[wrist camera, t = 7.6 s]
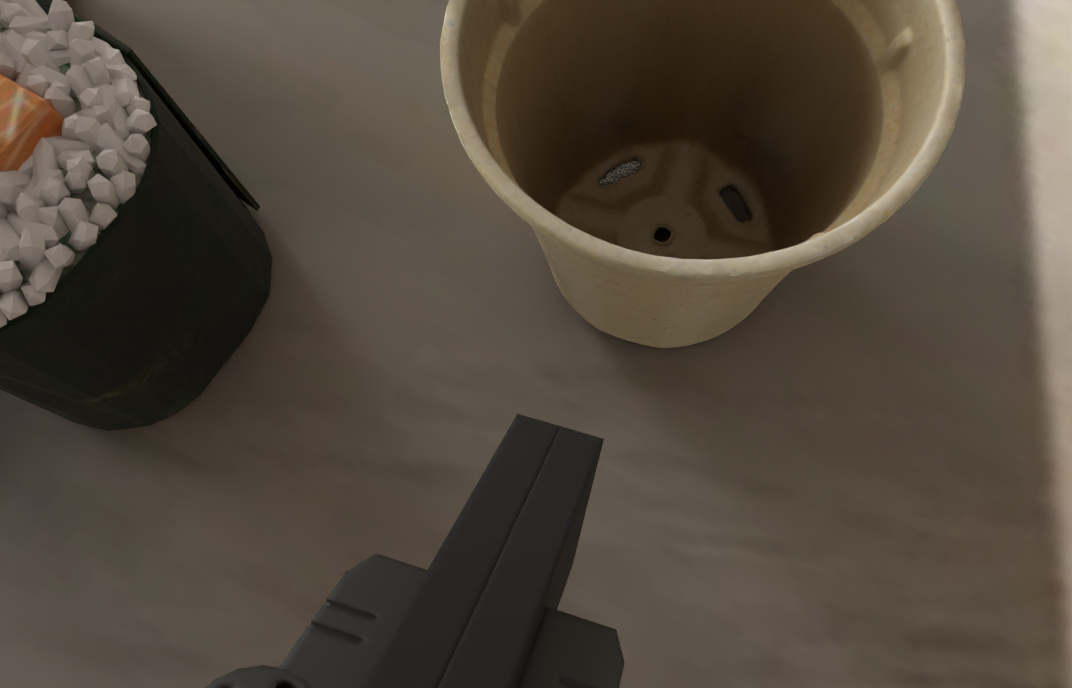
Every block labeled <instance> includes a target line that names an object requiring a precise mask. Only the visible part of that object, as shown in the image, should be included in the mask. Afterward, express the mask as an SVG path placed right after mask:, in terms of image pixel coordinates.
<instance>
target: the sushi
mask: <svg viewBox="0 0 1072 688" xmlns="http://www.w3.org/2000/svg"><path fill="white" fill-rule="evenodd" d="M240 199H241V200H242V201H244V202H245V203H247V204H248V205H250V206H251V207H253V208H254V209H256V210H257V211H258V209H259V207H260V206H259V205H258V203H257V202H256V201H255V200H254V199H253V197H252V196H251V195H250V194H249V192H248V191H247V190H246V189H245V188H244V186H243V185H242V184H241V183H240V181H239V180H238V179H237V178H236V177H235V175H234V174H233V173H232V172H231V170H230V169H229V168H228V167H227V166H226V164H225V163H224V162H223V161H222V159H221V158H220V157H219V156H218V155H217V153H216V152H215V151H214V150H213V148H212V147H211V146H210V145H209V144H208V142H207V141H206V140H205V139H204V137H203V136H202V135H201V134H200V133H199V131H198V130H197V129H196V128H195V126H194V125H193V124H192V123H191V122H190V120H189V119H188V118H187V117H186V115H185V114H184V113H183V112H182V111H181V109H180V108H179V107H178V106H177V104H176V103H175V102H174V101H173V99H172V98H171V97H170V96H169V95H168V93H167V92H166V91H165V90H164V88H163V87H162V86H161V85H160V84H159V82H158V81H157V80H156V79H155V77H154V76H153V75H152V74H151V73H150V71H149V70H148V69H147V68H146V66H145V65H144V64H143V63H142V62H141V60H140V59H139V58H138V57H137V55H136V54H135V53H134V52H133V51H132V49H131V48H129V47H128V46H127V45H125V44H124V43H122V42H121V41H119V40H118V39H117V38H115V37H114V36H112V35H111V34H109V33H108V32H106V31H105V30H104V29H102V28H101V27H99V26H97V25H95V24H93V21H88V20H86V19H84V18H82V17H80V16H78V15H77V14H75V13H73V11H72V9H71V7H70V6H69V5H68V3H67V2H66V1H63V0H53V1H50V0H0V389H1V390H3V391H6V392H8V393H10V394H12V395H15V396H17V397H19V398H21V399H24V400H26V401H28V402H30V403H33V404H35V405H37V406H39V407H41V408H44V409H46V410H48V411H50V412H53V413H55V414H57V415H59V416H62V417H64V418H66V419H68V420H70V421H73V422H76V423H80V424H84V425H88V426H92V427H95V428H99V429H103V430H107V431H111V430H118V429H126V428H133V427H140V426H148V425H151V424H153V423H155V422H157V421H159V420H162V419H164V418H166V417H168V416H170V415H172V414H174V413H176V412H178V411H179V410H181V409H182V408H183V407H184V406H186V405H187V404H188V403H189V402H191V401H192V400H193V399H194V398H196V397H197V396H198V395H199V394H200V393H201V392H202V391H203V389H204V388H205V387H206V386H207V384H208V383H209V382H210V381H211V379H212V378H213V377H214V376H215V374H216V373H217V372H218V370H219V369H220V368H221V367H222V365H223V364H224V363H225V362H226V360H227V359H228V358H229V357H230V355H231V354H232V353H233V352H234V350H235V349H236V348H237V346H238V345H239V344H240V343H241V341H242V340H243V339H244V338H245V336H246V335H247V334H248V333H249V331H250V330H251V328H252V326H253V324H254V322H255V320H256V318H257V316H258V314H259V313H260V311H261V309H262V307H263V305H264V303H265V301H266V299H267V297H268V296H269V289H270V276H271V264H272V257H271V254H270V251H269V248H268V245H267V242H266V239H265V236H264V233H263V231H262V230H261V229H260V227H259V226H258V224H257V223H256V221H255V220H254V218H253V217H252V215H251V214H250V213H249V211H248V210H247V208H246V207H245V205H244V204H243V203H242V202H241V200H240Z"/></svg>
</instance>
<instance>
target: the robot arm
mask: <svg viewBox="0 0 1072 688" xmlns="http://www.w3.org/2000/svg"><path fill="white" fill-rule="evenodd" d="M603 440H604V439H602V438H599V437H595V436H592V435H588V434H585V433H581V432H578V431H575V430H571V429H568V428H564V427H561V426H558V425H554V424H551V423H547V422H544V421H540V420H537V419H534V418H530V417H527V416H523V415H520V414H517V415H516V417H515V419H514V421H513V422H512V424H511V426H510V428H509V429H508V431H507V433H506V435H505V436H504V438H503V440H502V442H501V443H500V445H499V447H498V448H497V450H496V452H495V454H494V455H493V457H492V459H491V461H490V462H489V464H488V466H487V468H486V469H485V471H484V473H483V475H482V476H481V478H480V480H479V482H478V483H477V485H476V487H475V489H474V490H473V492H472V494H471V496H470V497H469V499H468V501H467V503H466V504H465V506H464V508H463V509H462V511H461V513H460V515H459V516H458V518H457V520H456V522H455V523H454V525H453V527H452V529H451V530H450V532H449V534H448V536H447V537H446V539H445V541H444V543H443V544H442V546H441V548H440V550H439V551H438V553H437V555H436V557H435V558H434V560H433V562H432V563H431V565H430V567H429V569H428V570H425V569H422V568H419V567H416V566H413V565H410V564H407V563H404V562H401V561H398V560H395V559H392V558H389V557H385V556H382V555H379V554H376V553H375V554H374V555H372V556H370V557H369V558H367V559H366V560H364V561H363V562H361V563H359V564H358V565H356V566H355V567H353V568H352V569H350V570H348V571H347V572H346V573H345V574H344V575H343V577H342V578H341V580H340V581H339V583H338V584H337V585H336V587H335V588H334V590H333V591H332V593H331V594H330V595H329V597H328V598H327V601H326V603H325V605H324V604H323V605H322V607H321V608H320V610H319V611H318V612H317V614H316V615H315V617H314V618H313V620H312V622H311V625H310V627H307V628H306V630H305V631H304V632H303V634H302V635H301V637H300V638H299V640H298V641H297V642H296V644H295V645H294V647H293V648H292V650H291V651H290V652H289V654H288V655H287V657H286V658H285V660H284V661H283V662H282V664H281V665H280V667H279V668H275V667H269V666H256V667H249V668H242V669H237V670H235V671H232V672H230V673H228V674H226V675H224V676H221V677H219V678H217V679H215V680H213V681H212V682H211V683H210V684H209V685H208V686H207V687H206V688H619V684H620V680H621V675H622V671H623V667H624V659H623V655H622V651H621V647H620V643H619V639H618V635H617V631H616V629H613V628H610V627H607V626H604V625H601V624H598V623H595V622H591V621H588V620H585V619H582V618H579V617H576V616H573V615H570V614H567V613H564V612H561V611H558V610H557V608H558V605H559V602H560V599H561V596H562V593H563V591H564V588H565V585H566V582H567V579H568V576H569V573H570V570H571V567H572V565H573V561H574V557H575V553H576V549H577V544H578V540H579V536H580V532H581V528H582V524H583V520H584V516H585V512H586V508H587V504H588V500H589V496H590V492H591V488H592V484H593V480H594V476H595V472H596V468H597V464H598V460H599V456H600V452H601V448H602V444H603Z"/></svg>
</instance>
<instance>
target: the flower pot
mask: <svg viewBox="0 0 1072 688" xmlns="http://www.w3.org/2000/svg"><path fill="white" fill-rule="evenodd" d="M440 47H441V48H440V57H441V75H442V84H443V89H444V94H445V99H446V102H447V105H448V108H449V112H450V115H451V118H452V121H453V124H454V126H455V129H456V131H457V134H458V136H459V139H460V141H461V143H462V145H463V147H464V149H465V151H466V153H467V154H468V156H469V158H470V159H471V161H472V162H473V164H474V166H475V167H476V169H477V170H478V172H479V173H480V174H481V176H482V177H483V178H484V180H485V181H486V182H487V183H488V185H489V186H490V187H491V188H492V189H493V190H494V192H495V193H496V194H497V195H498V196H499V197H500V198H501V199H502V200H503V201H504V202H505V203H506V204H507V205H508V206H509V207H510V208H511V209H512V210H513V211H515V212H516V213H517V214H518V215H519V216H520V217H521V218H523V219H524V220H525V221H526V222H528V223H529V224H530V225H532V227H533V230H534V232H535V234H536V236H537V238H538V240H539V243H540V245H541V247H542V249H543V252H544V254H545V257H546V259H547V262H548V264H549V266H550V269H551V272H552V275H553V277H554V280H555V282H556V284H557V286H558V288H559V290H560V291H561V293H562V294H563V296H564V297H565V299H566V300H567V301H568V303H569V304H570V305H571V306H572V307H573V308H574V309H575V310H576V311H577V312H578V314H579V315H581V316H582V317H583V318H584V319H585V320H586V321H587V322H589V323H590V324H591V325H593V326H594V327H596V328H597V329H599V330H601V331H603V332H606V333H608V334H611V335H613V336H615V337H618V338H621V339H624V340H627V341H630V342H634V343H638V344H642V345H647V346H652V347H657V348H674V347H682V346H688V345H692V344H696V343H700V342H704V341H706V340H709V339H712V338H715V337H717V336H719V335H721V334H723V333H724V332H726V331H728V330H730V329H731V328H733V327H734V326H736V325H737V324H739V323H740V322H741V321H742V320H743V319H745V318H746V317H747V316H748V315H749V314H750V313H751V312H752V311H753V310H754V309H755V308H756V307H757V306H758V305H759V303H760V302H761V301H762V300H763V299H764V298H765V297H766V296H767V295H768V293H769V292H770V291H771V290H772V289H773V288H774V287H775V286H776V285H777V284H778V283H779V282H780V281H781V280H782V279H783V278H784V277H785V276H786V275H787V274H788V273H789V272H790V271H791V270H793V269H796V268H799V267H803V266H806V265H808V264H811V263H813V262H816V261H818V260H821V259H823V258H825V257H828V256H830V255H832V254H834V253H837V252H839V251H840V250H842V249H844V248H846V247H848V246H850V245H852V244H853V243H855V242H857V241H858V240H860V239H861V238H863V237H864V236H866V235H867V234H869V233H870V232H871V231H872V230H874V229H875V228H876V227H878V226H879V225H880V224H882V223H883V222H885V221H886V220H888V219H889V218H890V217H891V216H892V215H893V214H894V213H895V212H896V211H897V210H898V209H899V208H900V207H901V206H902V205H903V204H904V203H905V202H906V201H907V200H908V199H909V198H910V197H911V196H912V195H913V194H914V193H916V191H917V190H918V189H919V188H920V186H921V185H922V184H923V182H924V181H925V180H926V178H927V177H928V176H929V174H930V173H931V171H932V170H933V169H934V167H935V165H936V163H937V162H938V160H939V158H940V156H941V154H942V153H943V151H944V148H945V147H946V145H947V143H948V141H949V139H950V137H951V134H952V132H953V130H954V127H955V123H956V118H957V116H958V113H959V110H960V107H961V104H962V98H963V94H964V88H965V61H966V54H965V42H964V36H963V30H962V25H961V20H960V14H959V10H958V8H957V5H956V1H955V0H450V1H449V3H448V5H447V8H446V13H445V17H444V24H443V29H442V34H441V39H440ZM631 161H639V162H641V164H640V169H639V170H638V172H637V173H635V174H632V175H629V176H624V177H622V178H620V179H618V180H617V181H615V182H613V183H612V184H609V185H607V186H602V185H601V184H600V183H599V181H600V180H602V179H603V178H605V176H606V175H607V173H609V172H611V171H612V170H614V169H616V168H617V167H619V166H621V165H623V164H625V163H628V162H631ZM727 186H730V187H732V188H734V189H736V190H737V191H738V192H739V193H740V194H741V196H742V198H743V200H744V203H745V207H746V208H747V209H748V210H749V211H750V217H751V220H748V221H744V222H739V221H738V220H737V219H736V217H735V216H734V214H733V213H732V211H731V210H730V208H729V206H728V205H727V203H726V201H725V200H724V199H723V196H720V195H719V192H720V191H721V190H722V189H723V188H725V187H727ZM659 228H665V229H667V230H668V231H669V232H670V237H669V238H668V239H667V241H663V242H660V241H658V240H656V239H654V234H655V232H656V230H658V229H659Z"/></svg>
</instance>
